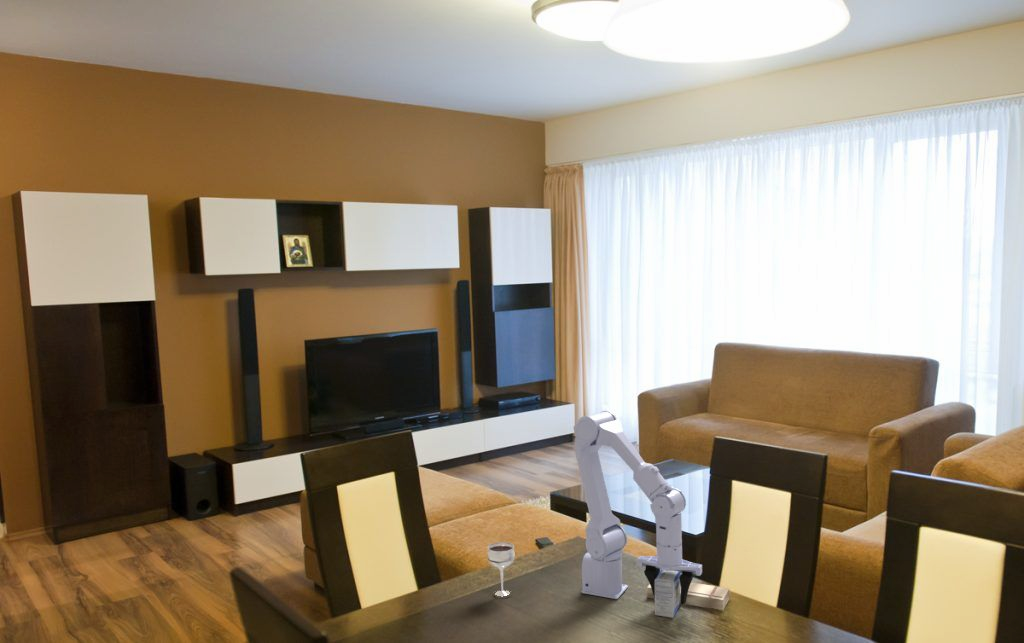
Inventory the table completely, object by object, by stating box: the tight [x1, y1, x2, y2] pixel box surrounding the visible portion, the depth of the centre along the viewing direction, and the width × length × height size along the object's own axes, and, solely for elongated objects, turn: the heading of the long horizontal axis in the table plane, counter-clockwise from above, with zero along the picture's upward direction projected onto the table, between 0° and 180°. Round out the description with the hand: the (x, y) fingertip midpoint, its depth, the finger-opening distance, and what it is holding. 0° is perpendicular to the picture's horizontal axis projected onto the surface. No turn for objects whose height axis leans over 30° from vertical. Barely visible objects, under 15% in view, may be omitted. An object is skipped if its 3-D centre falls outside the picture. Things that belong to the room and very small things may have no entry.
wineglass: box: [487, 541, 516, 597], centre depth 188 cm, size 7×7×12 cm
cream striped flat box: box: [646, 581, 730, 611], centre depth 183 cm, size 18×7×3 cm, turn 63°
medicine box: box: [654, 569, 681, 619], centre depth 177 cm, size 8×4×9 cm, turn 157°
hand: (670, 600), depth 177 cm, fingers open, 6 cm apart
